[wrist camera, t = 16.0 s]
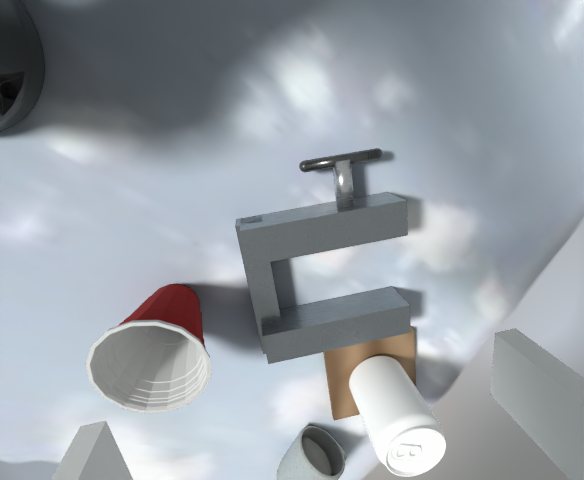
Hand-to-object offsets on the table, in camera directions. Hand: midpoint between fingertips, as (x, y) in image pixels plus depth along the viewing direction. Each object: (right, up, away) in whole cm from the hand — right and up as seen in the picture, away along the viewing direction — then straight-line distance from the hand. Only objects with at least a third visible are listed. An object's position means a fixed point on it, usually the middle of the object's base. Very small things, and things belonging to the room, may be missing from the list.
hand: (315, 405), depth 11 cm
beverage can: (+11, -14, +36) cm, 40 cm away
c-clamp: (+3, +4, +29) cm, 30 cm away
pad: (+11, -14, +37) cm, 41 cm away
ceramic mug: (+2, -27, +40) cm, 48 cm away
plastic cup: (-15, -3, +29) cm, 33 cm away
